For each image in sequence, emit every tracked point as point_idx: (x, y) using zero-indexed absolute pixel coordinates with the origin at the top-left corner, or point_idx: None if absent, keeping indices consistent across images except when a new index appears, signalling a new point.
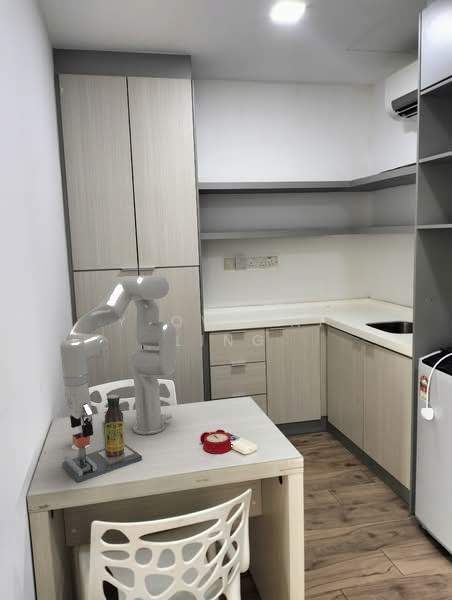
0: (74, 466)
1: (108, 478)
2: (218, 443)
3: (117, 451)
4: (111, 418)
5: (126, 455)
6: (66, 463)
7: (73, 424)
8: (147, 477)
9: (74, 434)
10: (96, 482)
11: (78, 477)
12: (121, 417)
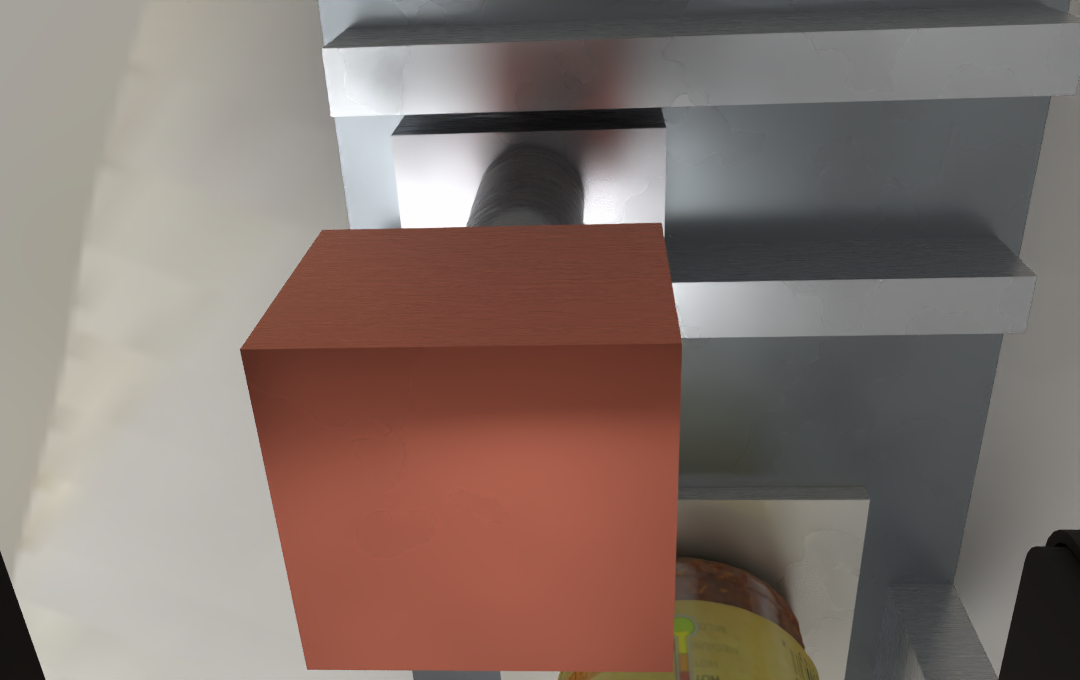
0: (527, 47)
1: (227, 343)
2: None
3: (561, 673)
4: None
5: None
6: (928, 10)
7: (1075, 668)
8: (31, 628)
9: (679, 409)
10: (204, 194)
11: (331, 15)
12: None
